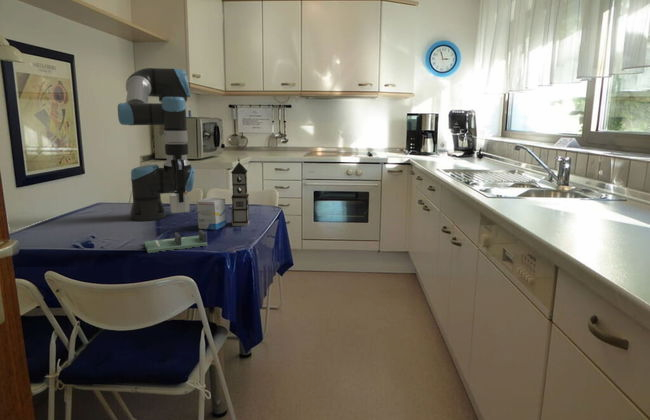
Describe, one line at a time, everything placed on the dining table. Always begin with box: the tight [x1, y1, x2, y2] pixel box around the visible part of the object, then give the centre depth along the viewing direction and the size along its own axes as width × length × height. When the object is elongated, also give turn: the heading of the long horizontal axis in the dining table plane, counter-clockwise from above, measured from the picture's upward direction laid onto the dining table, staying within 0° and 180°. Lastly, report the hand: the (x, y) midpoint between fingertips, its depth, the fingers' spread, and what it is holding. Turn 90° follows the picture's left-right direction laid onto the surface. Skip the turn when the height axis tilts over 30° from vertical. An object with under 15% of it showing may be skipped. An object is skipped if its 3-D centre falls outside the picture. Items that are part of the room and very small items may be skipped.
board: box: [143, 229, 209, 254], centre depth 164 cm, size 12×20×4 cm, turn 117°
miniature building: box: [230, 158, 250, 227], centre depth 192 cm, size 7×7×30 cm
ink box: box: [196, 197, 227, 231], centre depth 189 cm, size 9×8×12 cm
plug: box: [169, 191, 191, 214], centre depth 161 cm, size 4×6×7 cm, turn 115°
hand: (180, 209), depth 161 cm, fingers closed on plug, 4 cm apart
